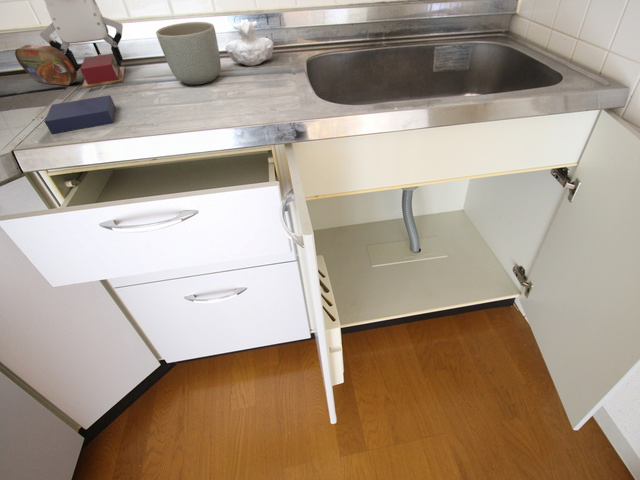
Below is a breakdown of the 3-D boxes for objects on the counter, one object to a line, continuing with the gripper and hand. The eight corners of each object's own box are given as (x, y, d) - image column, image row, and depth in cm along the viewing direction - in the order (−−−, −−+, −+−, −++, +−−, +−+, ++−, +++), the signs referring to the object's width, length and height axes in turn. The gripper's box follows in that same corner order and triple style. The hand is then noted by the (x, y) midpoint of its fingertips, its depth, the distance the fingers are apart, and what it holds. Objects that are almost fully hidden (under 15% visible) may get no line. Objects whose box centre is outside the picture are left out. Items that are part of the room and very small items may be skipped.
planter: (164, 89, 90) (145, 36, 82) (186, 71, 99) (171, 22, 91) (215, 89, 88) (200, 35, 81) (233, 71, 97) (221, 21, 90)
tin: (33, 82, 98) (4, 48, 91) (42, 75, 100) (15, 41, 93) (78, 87, 94) (51, 52, 87) (86, 79, 95) (61, 44, 88)
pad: (83, 88, 93) (82, 86, 93) (88, 74, 101) (87, 72, 101) (123, 82, 95) (122, 79, 95) (125, 68, 103) (124, 66, 103)
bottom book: (51, 134, 75) (44, 121, 73) (58, 116, 81) (51, 104, 79) (113, 123, 77) (107, 110, 75) (115, 106, 83) (110, 95, 82)
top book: (87, 84, 93) (79, 68, 91) (91, 72, 100) (84, 57, 98) (117, 79, 95) (111, 64, 93) (119, 68, 102) (113, 53, 100)
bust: (231, 75, 102) (221, 44, 91) (227, 49, 103) (217, 16, 92) (277, 70, 103) (273, 39, 92) (273, 44, 104) (268, 11, 93)
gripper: (106, -24, 89) (136, 58, 101) (19, -17, 85) (62, 68, 97) (103, -20, 84) (136, 66, 96) (11, -12, 80) (57, 77, 91)
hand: (98, 67), depth 96 cm, fingers open, 9 cm apart
